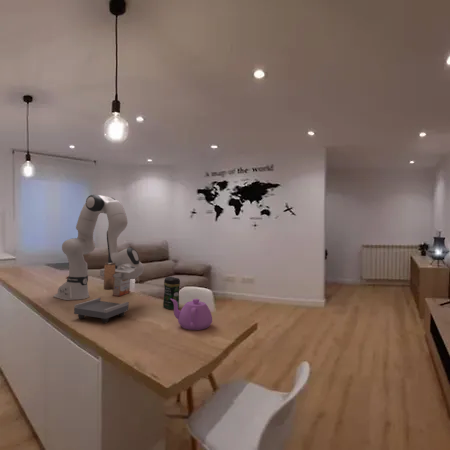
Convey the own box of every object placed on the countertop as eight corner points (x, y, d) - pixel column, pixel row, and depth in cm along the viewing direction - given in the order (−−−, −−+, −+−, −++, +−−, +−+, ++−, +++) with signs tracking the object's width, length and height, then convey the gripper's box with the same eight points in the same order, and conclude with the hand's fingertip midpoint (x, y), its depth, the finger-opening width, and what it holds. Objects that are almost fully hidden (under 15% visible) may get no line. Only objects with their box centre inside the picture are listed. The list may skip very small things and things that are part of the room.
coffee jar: (160, 307, 202) (161, 276, 202) (171, 305, 208) (172, 275, 208) (171, 310, 196) (172, 278, 196) (181, 308, 202) (182, 277, 202)
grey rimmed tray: (73, 319, 171) (74, 304, 171) (98, 311, 188) (98, 297, 188) (105, 324, 165) (106, 309, 165) (128, 315, 182) (128, 302, 182)
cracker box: (120, 296, 226) (121, 265, 226) (112, 295, 227) (113, 265, 227) (130, 292, 240) (131, 263, 239) (122, 291, 241) (123, 262, 241)
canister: (101, 289, 179) (102, 263, 179) (108, 287, 184) (109, 262, 184) (110, 290, 177) (110, 264, 177) (116, 288, 183) (117, 262, 182)
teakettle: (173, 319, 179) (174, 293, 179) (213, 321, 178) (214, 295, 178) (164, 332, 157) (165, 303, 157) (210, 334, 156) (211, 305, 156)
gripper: (109, 265, 196) (93, 267, 183) (139, 267, 190) (124, 271, 177) (109, 275, 196) (92, 279, 183) (138, 279, 190) (124, 282, 177)
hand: (108, 275), depth 180 cm, fingers closed on canister, 6 cm apart
